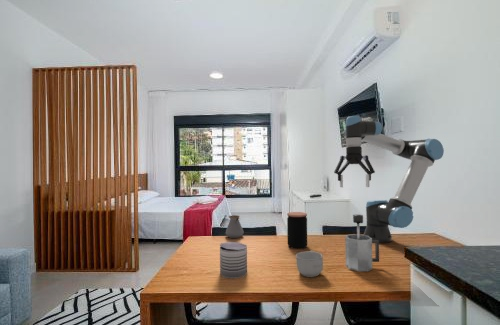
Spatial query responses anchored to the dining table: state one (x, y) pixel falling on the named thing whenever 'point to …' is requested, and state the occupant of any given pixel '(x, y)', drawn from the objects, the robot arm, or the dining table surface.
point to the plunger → (358, 220)
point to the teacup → (309, 263)
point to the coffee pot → (234, 227)
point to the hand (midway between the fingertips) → (354, 187)
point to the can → (233, 260)
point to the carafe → (360, 252)
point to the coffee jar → (297, 230)
